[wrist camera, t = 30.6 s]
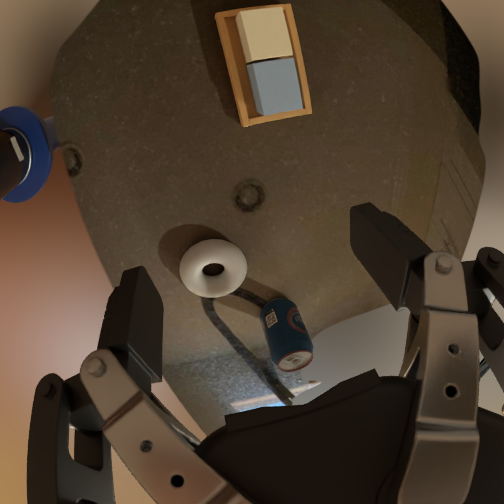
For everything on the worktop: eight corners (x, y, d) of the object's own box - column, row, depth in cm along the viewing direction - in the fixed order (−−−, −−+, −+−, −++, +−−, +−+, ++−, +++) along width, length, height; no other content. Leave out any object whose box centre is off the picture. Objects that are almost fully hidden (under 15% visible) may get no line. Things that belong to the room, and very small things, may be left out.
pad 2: (256, 111, 31) (263, 116, 27) (245, 65, 27) (252, 63, 24) (291, 105, 31) (303, 108, 27) (282, 59, 27) (293, 57, 24)
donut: (220, 295, 47) (258, 254, 43) (222, 310, 44) (263, 268, 40) (167, 270, 42) (203, 222, 38) (166, 285, 39) (204, 235, 35)
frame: (240, 124, 32) (243, 127, 30) (214, 16, 23) (215, 12, 22) (307, 111, 32) (312, 113, 31) (285, 6, 23) (290, 3, 22)
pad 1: (245, 63, 27) (251, 60, 24) (234, 18, 23) (239, 11, 20) (282, 57, 27) (293, 54, 24) (272, 13, 23) (282, 6, 20)
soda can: (302, 305, 52) (324, 356, 42) (274, 326, 54) (290, 377, 44) (280, 289, 48) (301, 343, 39) (250, 311, 50) (265, 367, 40)
